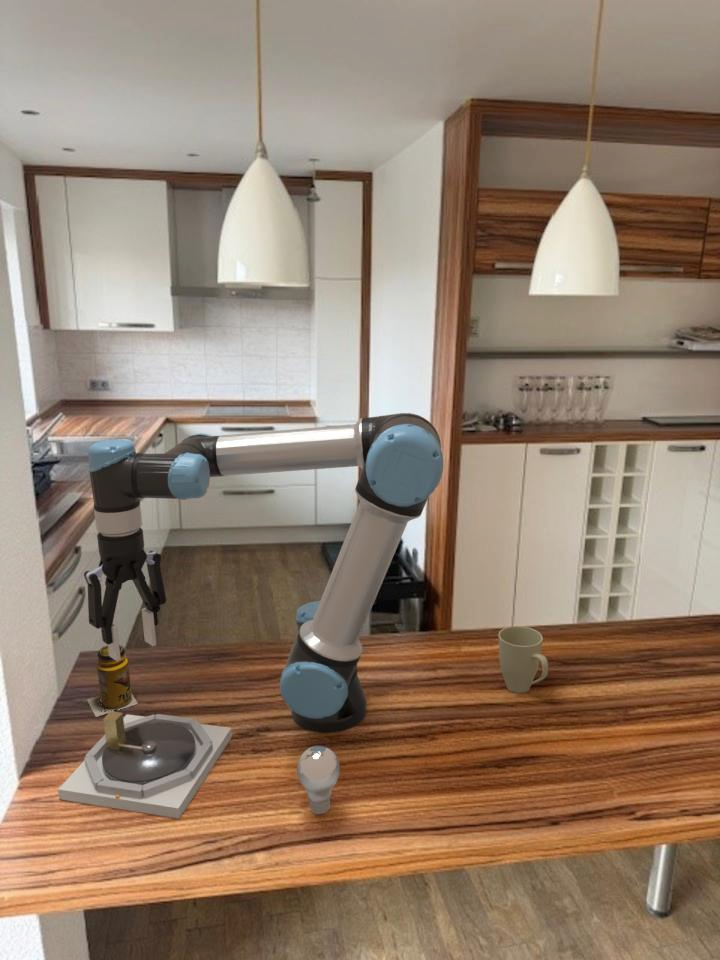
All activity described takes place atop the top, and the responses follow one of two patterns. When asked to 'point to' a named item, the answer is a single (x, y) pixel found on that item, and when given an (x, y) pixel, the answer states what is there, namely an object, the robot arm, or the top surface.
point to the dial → (145, 750)
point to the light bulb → (318, 776)
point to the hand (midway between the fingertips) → (133, 650)
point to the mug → (521, 657)
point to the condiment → (112, 683)
